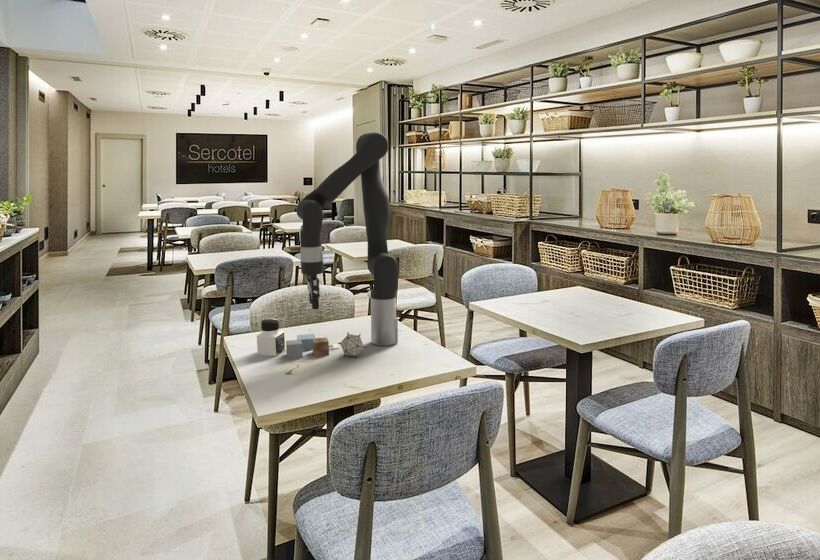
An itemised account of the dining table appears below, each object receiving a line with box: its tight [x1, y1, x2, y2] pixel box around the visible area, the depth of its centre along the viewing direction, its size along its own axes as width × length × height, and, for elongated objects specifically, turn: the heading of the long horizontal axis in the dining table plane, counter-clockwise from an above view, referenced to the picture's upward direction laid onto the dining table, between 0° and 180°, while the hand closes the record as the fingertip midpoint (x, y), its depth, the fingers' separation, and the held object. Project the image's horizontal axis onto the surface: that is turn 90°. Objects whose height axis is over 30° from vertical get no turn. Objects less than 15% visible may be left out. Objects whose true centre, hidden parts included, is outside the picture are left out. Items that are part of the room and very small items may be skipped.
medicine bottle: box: [256, 317, 286, 357], centre depth 197 cm, size 7×7×12 cm
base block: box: [296, 333, 316, 351], centre depth 204 cm, size 6×6×4 cm
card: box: [329, 343, 340, 350], centre depth 204 cm, size 6×4×1 cm
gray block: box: [285, 339, 304, 360], centre depth 194 cm, size 5×5×5 cm
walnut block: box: [312, 336, 330, 357], centre depth 197 cm, size 5×5×5 cm
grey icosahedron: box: [337, 332, 367, 359], centre depth 193 cm, size 9×8×10 cm
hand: (314, 306), depth 194 cm, fingers open, 8 cm apart
